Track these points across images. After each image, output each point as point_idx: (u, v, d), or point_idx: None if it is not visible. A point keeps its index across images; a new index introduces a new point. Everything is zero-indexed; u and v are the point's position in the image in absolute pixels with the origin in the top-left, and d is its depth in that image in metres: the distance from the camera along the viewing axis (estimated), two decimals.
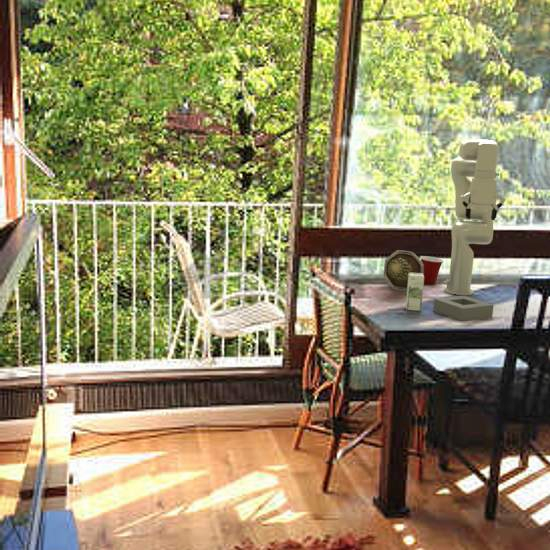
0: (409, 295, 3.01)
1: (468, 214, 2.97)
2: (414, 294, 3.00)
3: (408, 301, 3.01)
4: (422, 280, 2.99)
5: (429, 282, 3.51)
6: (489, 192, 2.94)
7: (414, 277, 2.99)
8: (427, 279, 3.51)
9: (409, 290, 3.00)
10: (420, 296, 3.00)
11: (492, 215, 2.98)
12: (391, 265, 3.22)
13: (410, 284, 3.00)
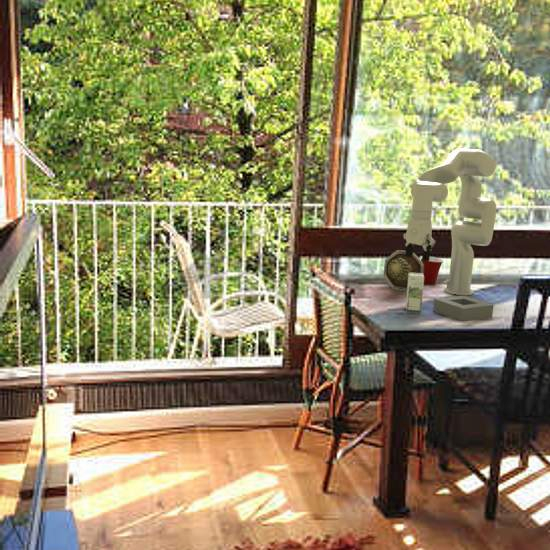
0: (409, 295, 3.01)
1: None
2: (414, 294, 3.00)
3: (408, 301, 3.01)
4: (422, 280, 2.99)
5: (429, 282, 3.51)
6: None
7: (414, 277, 2.99)
8: (427, 279, 3.51)
9: (409, 290, 3.00)
10: (420, 296, 3.00)
11: (410, 252, 3.03)
12: (391, 265, 3.22)
13: (410, 284, 3.00)
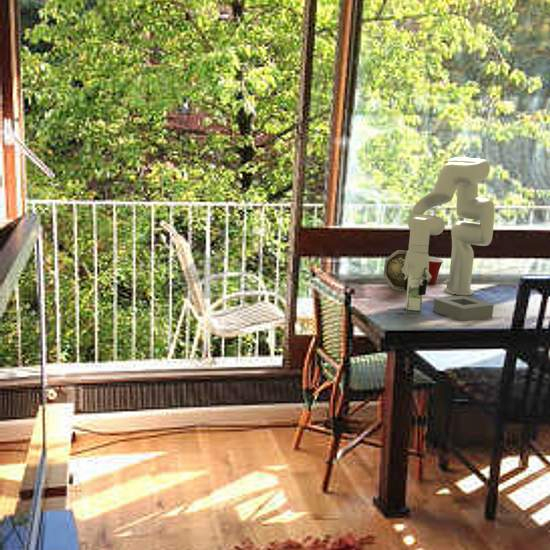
0: (409, 295, 3.01)
1: None
2: (414, 294, 3.00)
3: (408, 301, 3.01)
4: (422, 280, 2.99)
5: (429, 282, 3.51)
6: None
7: None
8: None
9: (409, 290, 3.00)
10: (420, 296, 3.00)
11: None
12: (391, 265, 3.22)
13: (409, 284, 3.00)
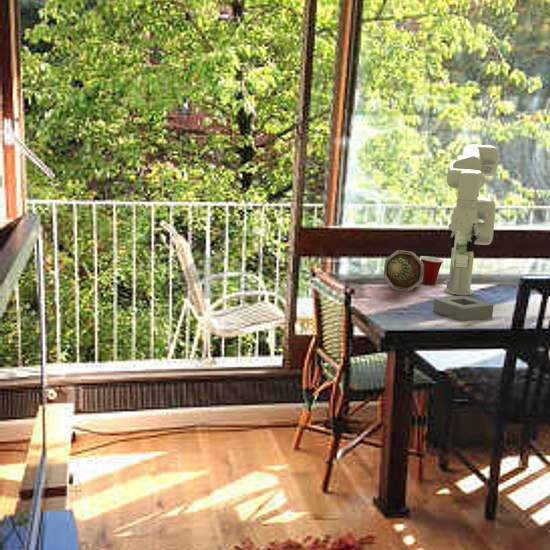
0: (456, 252, 2.94)
1: None
2: (462, 251, 2.93)
3: (455, 258, 2.94)
4: None
5: (429, 282, 3.51)
6: None
7: None
8: (427, 279, 3.51)
9: (456, 246, 2.93)
10: (468, 253, 2.93)
11: None
12: (391, 265, 3.22)
13: (457, 240, 2.93)
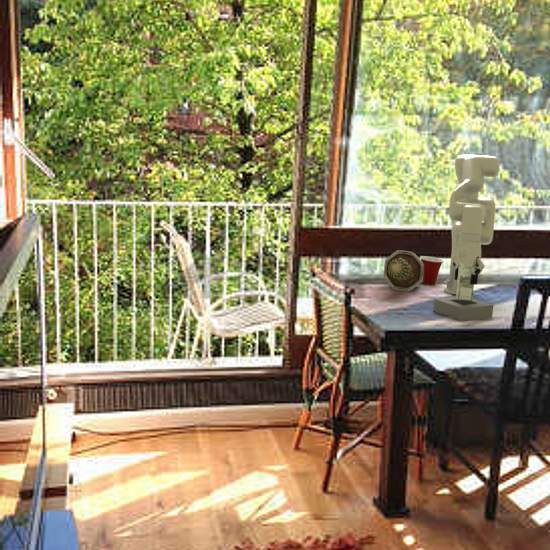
0: (460, 284, 2.96)
1: None
2: (466, 284, 2.95)
3: (459, 291, 2.96)
4: None
5: (429, 282, 3.51)
6: None
7: None
8: (427, 279, 3.51)
9: (460, 279, 2.95)
10: (471, 285, 2.95)
11: None
12: (391, 265, 3.22)
13: (461, 273, 2.95)
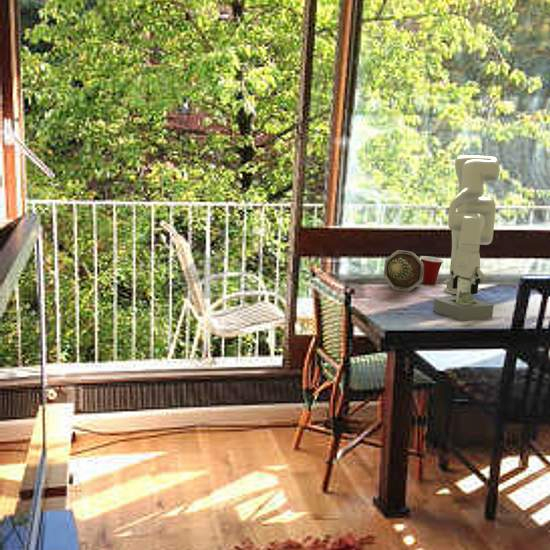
0: (459, 300, 2.97)
1: None
2: (465, 299, 2.97)
3: None
4: None
5: (429, 282, 3.51)
6: None
7: (465, 282, 2.95)
8: (427, 279, 3.51)
9: (459, 295, 2.97)
10: (470, 301, 2.97)
11: None
12: (391, 265, 3.22)
13: (460, 289, 2.96)
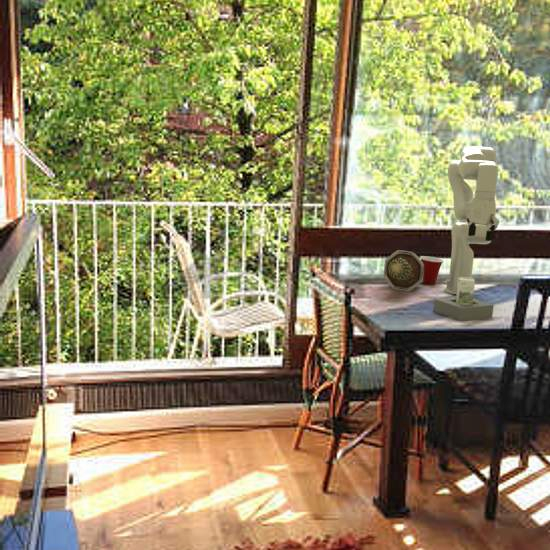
0: (459, 300, 2.97)
1: None
2: (465, 299, 2.97)
3: None
4: (473, 285, 2.95)
5: (429, 282, 3.51)
6: None
7: (465, 282, 2.95)
8: (427, 279, 3.51)
9: (459, 295, 2.97)
10: (471, 301, 2.97)
11: (473, 231, 3.07)
12: (392, 265, 3.22)
13: (460, 289, 2.96)
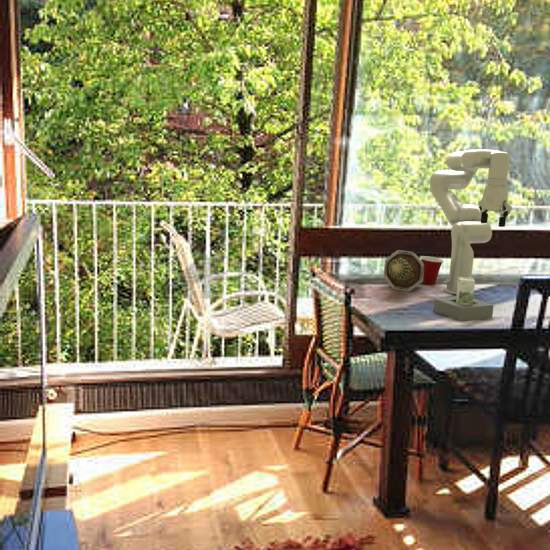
0: (459, 300, 2.97)
1: (504, 222, 3.08)
2: (465, 299, 2.97)
3: None
4: (473, 285, 2.95)
5: (429, 282, 3.51)
6: None
7: (465, 282, 2.95)
8: (427, 279, 3.51)
9: (459, 295, 2.97)
10: (471, 301, 2.97)
11: (485, 219, 3.15)
12: (392, 265, 3.22)
13: (460, 289, 2.96)
